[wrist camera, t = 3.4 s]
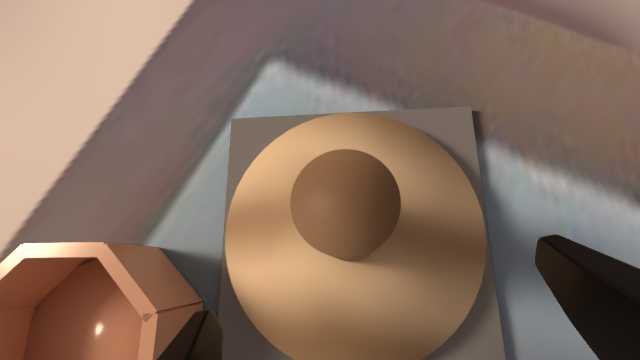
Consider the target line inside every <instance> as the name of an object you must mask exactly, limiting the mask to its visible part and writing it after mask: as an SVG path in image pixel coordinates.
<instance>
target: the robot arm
mask: <svg viewBox="0 0 640 360" xmlns="http://www.w3.org/2000/svg"><path fill="white" fill-rule="evenodd" d="M535 263H536V266H537V269H538V270H539V272H540V274H541V275H542V277H543V278H544V280H545V282H546V283H547V285H548V286H549V288H550V290H551V291H552V293H553V294H554V296H555V298H556V299H557V301H558V303H559V304H560V306H561V307H562V309H563V311H564V312H565V314H566V315H567V317H568V318H569V320H570V321H571V323H572V324H573V325H574V327H575V328H576V330H577V331H578V332H579V334H580V335H581V336H582V337H583V339H584V340H585V341H586V343H587V344H588V345H589V347H590V348H591V349H592V351H593V352H594V353H595V354H596V356H597V357H598V358H599V360H640V269H638V268H636V267H634V266H631V265H629V264H627V263H624V262H622V261H619V260H617V259H615V258H612V257H610V256H607V255H605V254H603V253H600V252H598V251H595V250H593V249H591V248H588V247H586V246H583V245H581V244H579V243H576V242H574V241H571V240H569V239H567V238H564V237H562V236H559V235H549V236H544V237H541V238H539V240H538V242H537V249H536V256H535ZM222 344H223V330H222V327H221V325H220V323H219V322H218V320H217V318H216V317H215V315H214V313H213V312H212V310H210V309H205V310H200V311H197V312H195V313H194V314H193V315H192V316H191V317H190V318H189V320H188V321H187V322H186V324H185V325H184V326H183V327H182V329H181V330H180V331H179V332H178V334H177V335H176V336H175V337H174V339H173V340H172V341H171V342H170V344H169V345H168V346H167V347H166V349H165V350H164V351H163V352H162V354H161V355H160V356H159V357H158V359H157V360H222Z"/></svg>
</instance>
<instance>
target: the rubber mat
mask: <svg viewBox="0 0 640 360" xmlns="http://www.w3.org/2000/svg"><path fill="white" fill-rule="evenodd" d="M353 113H366V114H374V115H380V116H384V117H388V118H392V119H395V120H397V121H400V122H402V123H405V124H408V125H410V126H412V127H413V128H415V129H417V130H419V131H421V132H423V133H424V134H426V135H427V136H428V137H430V138H431V139H433V140H434V141H436V142H437V143H438V144H439V145H440V146H441V147H442V148H443V149H444V150H446V151H447V152H448V153H449V154H450V156H451V157H452V158H453V159H454V160H455V161H456V162H457V164H458V165H459V166H460V168H461V169H462V171H463V172H464V174H465V175H466V177H467V178H468V180H469V182H470V184H471V186H472V188H473V190H474V192H475V194H476V196H477V199H478V202H479V205H480V208H481V211H482V215H483V220H484V225H485V231H486V246H487V247H486V262H485V269H484V273H483V278H482V283H481V286H480V288H479V291H478V294H477V297H476V299H475V301H474V303H473V305H472V307H471V309H470V311H469V313H468V314H467V316H466V318H465V319H464V321H463V322H462V323H461V325H460V326H459V327H458V329H457V330H456V331H455V332H454V333H453V334H452V335H451V336H450V337H449V338H448V339H447V340H446V341H445V342H444V343H443V344H442V345H441V346H440V347H439V348H437V349H436V350H435V351H433V352H432V353H430V354H429V355H428V356H426V357H425V358H423V359H421V360H506V358H505V351H504V344H503V336H502V329H501V322H500V315H499V307H498V300H497V293H496V285H495V278H494V271H493V264H492V256H491V249H490V242H489V234H488V227H487V220H486V213H485V205H484V198H483V191H482V183H481V176H480V169H479V161H478V154H477V147H476V140H475V132H474V125H473V118H472V110H471V106H465V107H446V108H428V109H409V110H390V111H372V112H353ZM334 114H342V113H334ZM328 115H333V114H316V115H297V116H278V117H260V118H241V119H232V123H231V137H230V151H229V165H228V180H227V194H226V208H225V222H224V237H223V251H222V265H221V279H220V293H219V308H218V322H219V323H220V325H221V327H222V330H223V344H222V360H295V359H293V358H291V357H289V356H288V355H286V354H284V353H283V352H282V351H280V350H279V349H278V348H277V347H275V346H274V345H273V344H271V343H270V342H269V341H268V340H267V339H266V338H265V337H264V336H263V335H262V334H261V333H260V332H259V331H258V330H257V328H256V327H255V326H254V324H253V323H252V322H251V320H250V319H249V318H248V316H247V315H246V313H245V311H244V310H243V308H242V306H241V304H240V302H239V301H238V299H237V296H236V293H235V291H234V288H233V286H232V283H231V280H230V276H229V272H228V268H227V261H226V252H225V232H226V224H227V217H228V213H229V209H230V205H231V201H232V199H233V196H234V194H235V191H236V189H237V186H238V184H239V183H240V181H241V179H242V177H243V175H244V173H245V172H246V171H247V169H248V168H249V166H250V165H251V164H252V162H253V161H254V160H255V158H256V157H257V156H258V155H259V154H260V153H261V152H262V151H263V150H264V149H265V148H266V147H267V146H268V145H269V144H270V143H272V142H273V141H274V140H275V139H276V138H278V137H279V136H281V135H282V134H284V133H285V132H287V131H288V130H290V129H292V128H294V127H296V126H298V125H300V124H302V123H305V122H307V121H310V120H313V119H316V118H319V117H324V116H328Z"/></svg>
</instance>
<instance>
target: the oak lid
mask: <svg viewBox="0 0 640 360" xmlns="http://www.w3.org/2000/svg"><path fill="white" fill-rule="evenodd" d="M486 247H487V246H486V231H485V225H484V220H483V215H482V211H481V208H480V205H479V202H478V199H477V196H476V194H475V192H474V190H473V188H472V186H471V184H470V182H469V180H468V178H467V177H466V175H465V174H464V172H463V171H462V169H461V168H460V166H459V165H458V164H457V162H456V161H455V160H454V159H453V158H452V157H451V156H450V154H449V153H448V152H447V151H446V150H444V149H443V148H442V147H441V146H440V145H439V144H438V143H437V142H436V141H434V140H433V139H431V138H430V137H428V136H427V135H426V134H424V133H423V132H421V131H419V130H417V129H415V128H413V127H412V126H410V125H408V124H405V123H402V122H400V121H397V120H395V119H392V118H388V117H384V116H380V115H374V114H366V113H342V114H333V115H328V116H324V117H319V118H316V119H313V120H310V121H307V122H305V123H302V124H300V125H298V126H296V127H294V128H292V129H290V130H288V131H287V132H285V133H284V134H282V135H281V136H279V137H278V138H276V139H275V140H274V141H273V142H272V143H270V144H269V145H268V146H267V147H266V148H265V149H264V150H263V151H262V152H261V153H260V154H259V155H258V156H257V157H256V158H255V160H254V161H253V162H252V164H251V165H250V166H249V168H248V169H247V171H246V172H245V173H244V175H243V177H242V179H241V181H240V183H239V184H238V186H237V189H236V191H235V194H234V196H233V199H232V201H231V205H230V209H229V213H228V217H227V224H226V232H225V252H226V261H227V268H228V272H229V276H230V280H231V283H232V286H233V288H234V291H235V293H236V296H237V299H238V301H239V302H240V304H241V306H242V308H243V310H244V311H245V313H246V315H247V316H248V318H249V319H250V320H251V322H252V323H253V324H254V326H255V327H256V328H257V330H258V331H259V332H260V333H261V334H262V335H263V336H264V337H265V338H266V339H267V340H268V341H269V342H270V343H271V344H273V345H274V346H275V347H277V348H278V349H279V350H280V351H282V352H283V353H284V354H286V355H288V356H289V357H291V358H293V359H295V360H421V359H423V358H425V357H426V356H428V355H429V354H430V353H432V352H433V351H435V350H436V349H437V348H439V347H440V346H441V345H442V344H443V343H444V342H445V341H446V340H447V339H448V338H449V337H450V336H451V335H452V334H453V333H454V332H455V331H456V330H457V329H458V327H459V326H460V325H461V323H462V322H463V321H464V319H465V318H466V316H467V314H468V313H469V311H470V309H471V307H472V305H473V303H474V301H475V299H476V297H477V294H478V291H479V288H480V286H481V283H482V278H483V273H484V269H485V262H486Z"/></svg>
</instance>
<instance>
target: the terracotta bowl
mask: <svg viewBox="0 0 640 360" xmlns="http://www.w3.org/2000/svg"><path fill="white" fill-rule="evenodd" d="M201 302H202V299H201V298H200V297H199V296H198V294H197V293H196V292H195V291H194V290H193V288H192V287H191V286H190V285H189V283H188V282H187V281H186V280H185V278H184V277H183V276H182V275H181V274H180V272H179V271H178V270H177V269H176V267H175V266H174V265H173V264H172V263H171V261H170V260H169V259H168V258H167V256H166V255H165V254H164V253H163V251H162V250H161V249H160V248H158V247H149V246H138V245H128V244H117V243H107V242H84V243H24V244H21V245H20V246H19V247H18V248H17V249H16V250H15V251H14V252H12V253H11V254H10V255H9V256H8V257H7V258H6V259H5V260H4V261H3V262H1V263H0V360H157V359H158V357H159V356H160V355H161V354H162V352H163V351H164V350H165V349H166V347H167V346H168V345H169V344H170V342H171V341H172V340H173V339H174V337H175V336H176V335H177V334H178V332H179V331H180V330H181V329H182V327H183V326H184V325H185V324H186V322H187V321H188V320H189V318H190V317H191V316H192V315H193V314H194V313H195V312H197V311H200V310H203V303H201Z"/></svg>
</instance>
